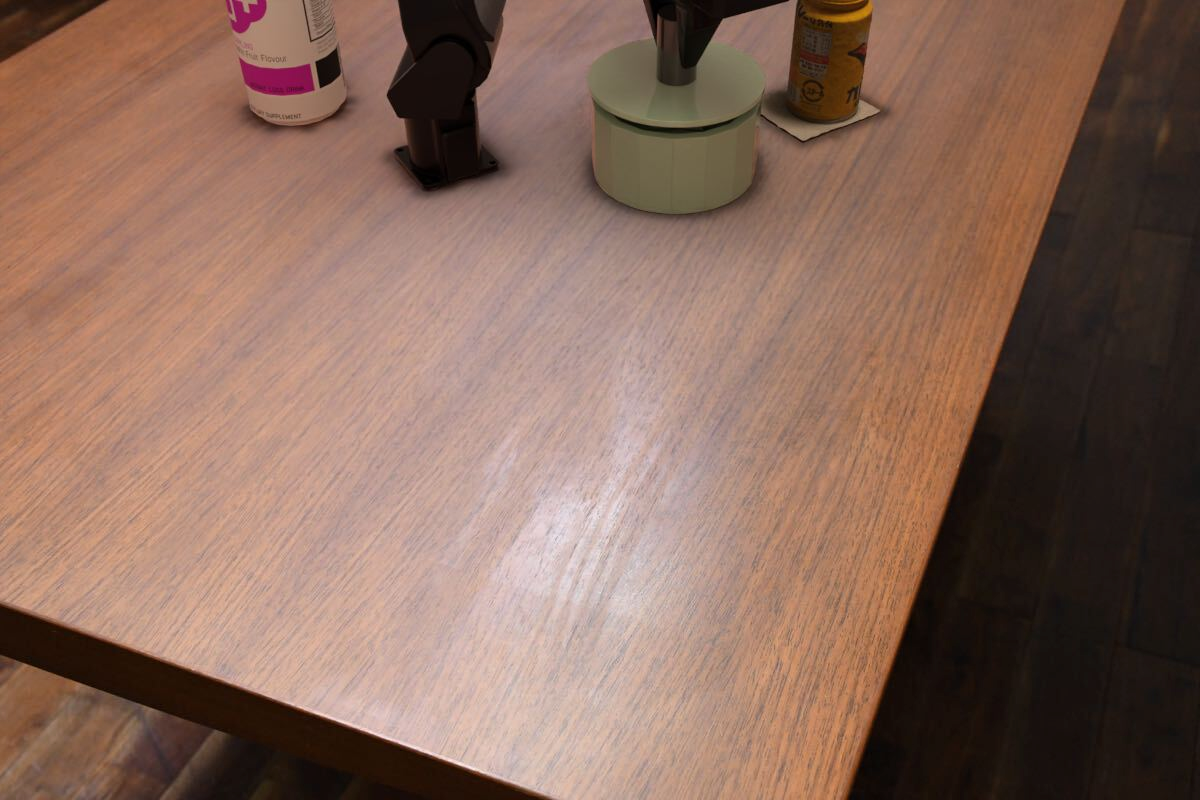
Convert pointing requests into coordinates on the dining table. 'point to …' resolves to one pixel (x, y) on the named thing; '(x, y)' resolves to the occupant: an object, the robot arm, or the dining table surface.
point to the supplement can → (289, 58)
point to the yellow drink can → (824, 69)
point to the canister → (674, 161)
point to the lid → (675, 81)
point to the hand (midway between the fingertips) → (676, 58)
